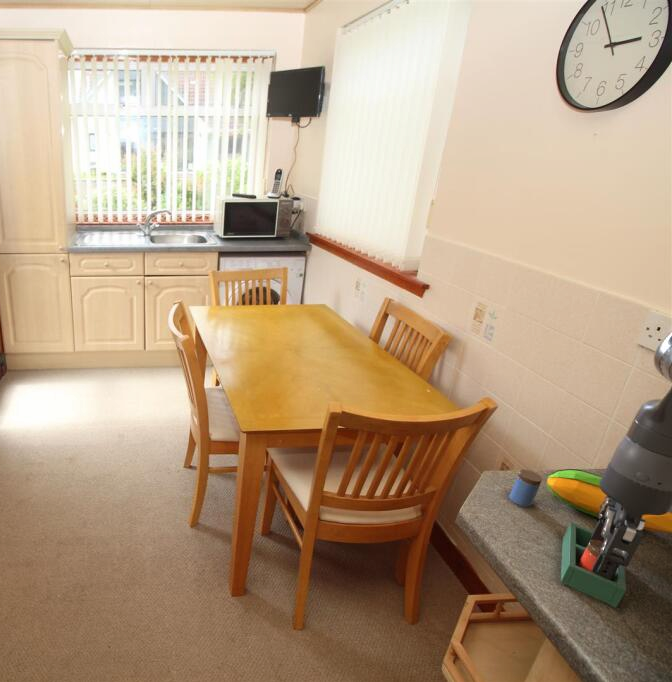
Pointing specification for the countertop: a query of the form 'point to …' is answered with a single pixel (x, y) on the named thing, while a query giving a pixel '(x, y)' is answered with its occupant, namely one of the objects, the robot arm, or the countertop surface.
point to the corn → (594, 496)
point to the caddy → (582, 578)
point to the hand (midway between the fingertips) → (599, 557)
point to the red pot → (591, 555)
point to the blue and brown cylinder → (525, 487)
